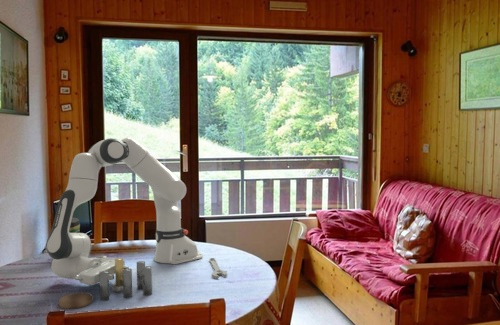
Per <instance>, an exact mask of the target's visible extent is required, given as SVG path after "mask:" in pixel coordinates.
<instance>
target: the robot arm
mask: <svg viewBox="0 0 500 325" xmlns="http://www.w3.org/2000/svg"><path fill="white" fill-rule="evenodd" d="M120 162H123V163H124V164H125V165H126V166H127V167H128V168H129V169H130V170H131V171H132V172H133V173H134V174H136V176H138V177H139V178H140V179H141V180H142V181H143V182H144V183H146V184H147V185H148V186H149V187H150V188H151V191H152V194H153V196H152V197H153V202H154V206H155V213H156V214H155V215H156V228H155V241H156V246H155V247H156V248H155V254H154V256H153V260H154V262H156V263H159V264H160V263H161V264H170V265H171V264H172V265H178V264H182V263H188V262H192V261H196V260H200V259H203V254H202V252H201V251H199V250H198V247H197V244H196V243H195V241H193V240H192V239H190V237H188V236H186V235H188V234H189V231H188V229H185V228H182V220H181V219H182V217H181V215H182V214H181V212H182V211H181V209H180V207H179V201H181V200H183V198H185V196H186V194H187V186H186V184H185V183H184V182H183V181H182V180H181V179H180V178H179V177H178V176H177V175H175V173H173V171H171V170H170V169H168V168H167V167H166V166H165V165H164V164H162V162H160V161H159V160H158V159H157V158H156V157H155V155H153V154H152V153H151V152H150V151H149V150H148V149H147V148H146V147H145V146H143V145H142V144H141V142H139V141H137V140H136V139H134V138H132V137H125V138H122V139H121V140H120V139H118V138H113V137H112V138H111V137H110V138H106V139H103V140H100V141H98V142H96V143H94V144H92V145H91V146H90V148H89V149H88V150H87V151H86V152H81V153H77V154H76V155H75V156H74V158H73V159H72V162H71V165H70V167H71V168H70V170H69V176H68V183H67V186H66V188H65V191H64V192H63V193H62V194H61V195H60V198H59V200H58V201H59V202H58V204H57V208H56V211H55V212H56V213H55V216H54V220H53V224H52V228H51V230H50V233H49V235H48V237H47V239H46V243H45V248H46V253H47V255H49V257H50V258H52V261H51V266H50V268H51V270H52V272H53V274H54V275H55V276H57V277H60V278H62V279H67V280H75V281H79V283H80V284H84V285H88V286H94V285H97V284H99V283H100V275H99V272H100V271H109V281H113V280H115V259H117V258H118V257H117V258H115V257H107V255H99V256H95V257H89V256H90V253H91V249H92V241H91V237H90V236H89V235H88V234H86V233H84V232H80V233H69V228H70V224H71V220H72V217H73V216H74V212H75V210H76V208H78V206H81V205H82V204H85V203H87V202H88V201H90V200H92V199H93V198H94V197H95V195H96V192H97V190H98V182H99V174H100V170H101V169H102V168H105V167H110V166H113V165H116V164H119V163H120ZM125 264H126V263H125V260H124V259H123V269H127V268H129V269H130V267H129V266H126V265H125Z"/></svg>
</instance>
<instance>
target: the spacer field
mask: <svg viewBox="0 0 500 325" xmlns="http://www.w3.org/2000/svg"><path fill="white" fill-rule="evenodd" d="M152 273H153V272H152V266H149V265H147V266H146V261H142V260H141V261H140V260H139V261H137V262H136V289H137V290H142V293H143V294H142V295H143V296H151V295H153V280H152V278H153V277H152V276H153V274H152ZM99 275H100V282H99V300H100V301H102V302H106V301H109V300H110V298H111V297H110V280H109V271H100V272H99ZM122 297H123V299H131V298H132V297H133V270H132V268H130V267H129V268H127V269H123V293H122Z"/></svg>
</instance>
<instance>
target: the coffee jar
mask: <svg viewBox="0 0 500 325" xmlns="http://www.w3.org/2000/svg"><path fill="white" fill-rule="evenodd" d="M80 227H81V223H80V219H79V218H78V217H73V216H72V220H71V224H70V228H69V233H81V232H80V229H81V228H80Z"/></svg>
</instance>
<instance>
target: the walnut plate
mask: <svg viewBox="0 0 500 325" xmlns="http://www.w3.org/2000/svg"><path fill="white" fill-rule="evenodd" d="M92 302H93V295H92V294H91V293H88V292H74V293H69V294H66V295H64V296H62V297H60V298H59V299H58V308H60V309H64V310H76V309H77V310H78V309H81V308H85V307H87V306H90V304H92Z"/></svg>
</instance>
